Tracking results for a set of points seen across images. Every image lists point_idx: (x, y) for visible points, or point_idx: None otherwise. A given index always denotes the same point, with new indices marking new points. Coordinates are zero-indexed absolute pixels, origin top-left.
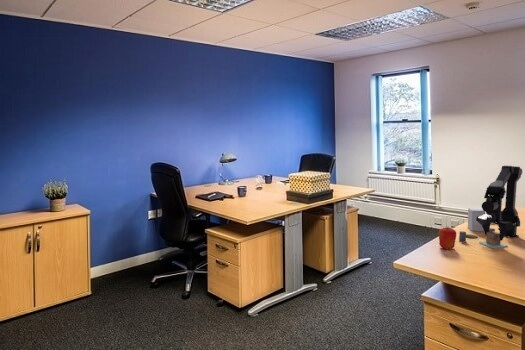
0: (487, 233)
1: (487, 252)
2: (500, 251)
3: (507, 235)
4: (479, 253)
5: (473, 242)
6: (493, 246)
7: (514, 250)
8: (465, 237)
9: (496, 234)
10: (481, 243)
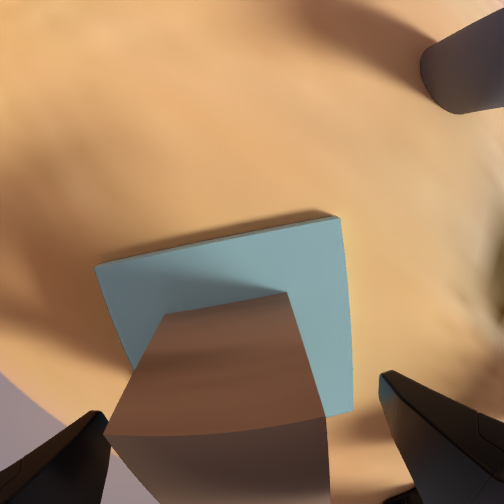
0: (288, 401)
1: (4, 125)
2: (22, 276)
3: (403, 499)
4: (5, 44)
5: (385, 162)
6: (126, 294)
7: (71, 405)
8: (460, 78)
9: (139, 472)
10: (298, 225)
